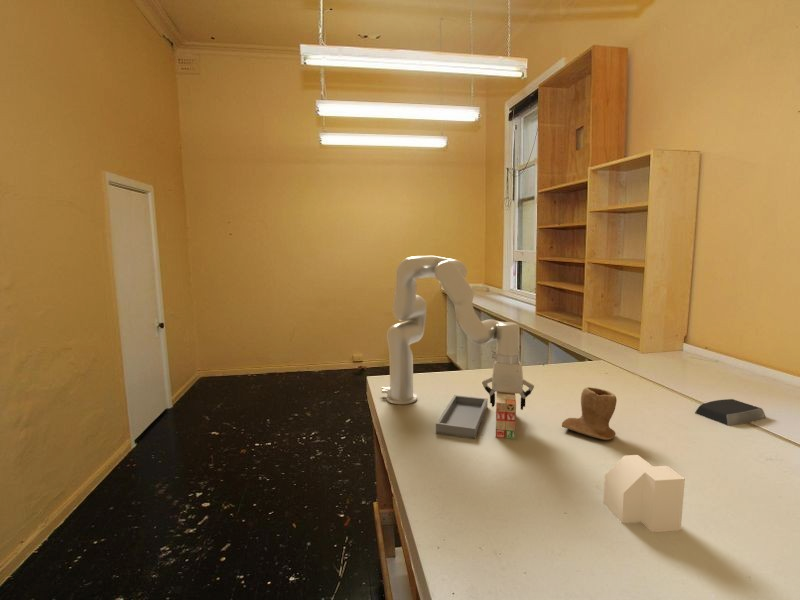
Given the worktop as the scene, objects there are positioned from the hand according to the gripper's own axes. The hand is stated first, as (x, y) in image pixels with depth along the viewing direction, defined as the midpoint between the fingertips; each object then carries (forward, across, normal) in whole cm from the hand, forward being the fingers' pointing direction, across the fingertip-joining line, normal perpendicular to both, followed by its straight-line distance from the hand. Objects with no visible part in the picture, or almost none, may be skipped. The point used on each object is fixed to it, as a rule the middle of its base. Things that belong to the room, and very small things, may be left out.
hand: (507, 406), depth 143 cm
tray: (+6, -15, 0) cm, 17 cm away
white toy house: (+8, +34, -40) cm, 53 cm away
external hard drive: (+8, +75, +34) cm, 83 cm away
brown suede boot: (+7, +27, +3) cm, 28 cm away
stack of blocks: (+7, -1, 0) cm, 7 cm away
